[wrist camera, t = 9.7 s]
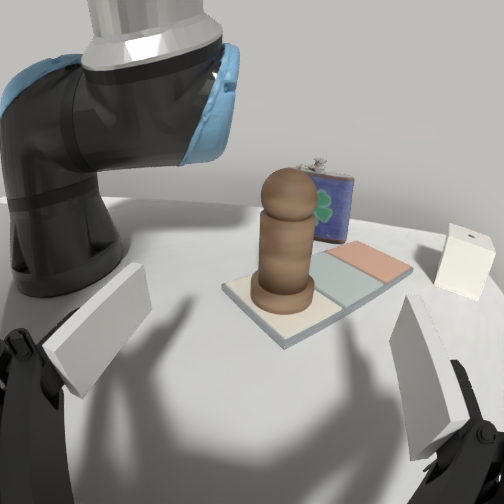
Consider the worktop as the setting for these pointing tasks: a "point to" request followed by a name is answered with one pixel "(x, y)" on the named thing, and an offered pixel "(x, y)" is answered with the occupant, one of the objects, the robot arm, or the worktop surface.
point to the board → (326, 291)
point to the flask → (330, 202)
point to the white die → (465, 262)
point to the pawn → (285, 243)
